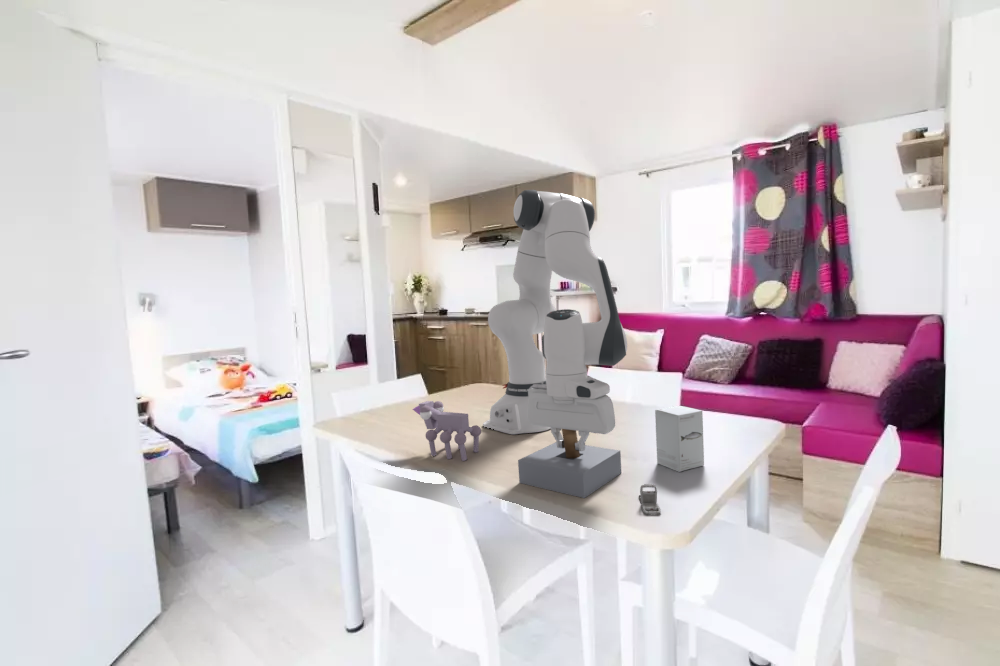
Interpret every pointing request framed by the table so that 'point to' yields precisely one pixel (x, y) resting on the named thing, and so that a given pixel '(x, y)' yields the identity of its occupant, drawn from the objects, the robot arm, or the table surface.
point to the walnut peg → (570, 443)
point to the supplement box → (679, 437)
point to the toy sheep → (447, 427)
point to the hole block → (570, 469)
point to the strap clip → (649, 501)
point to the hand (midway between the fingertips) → (570, 449)
